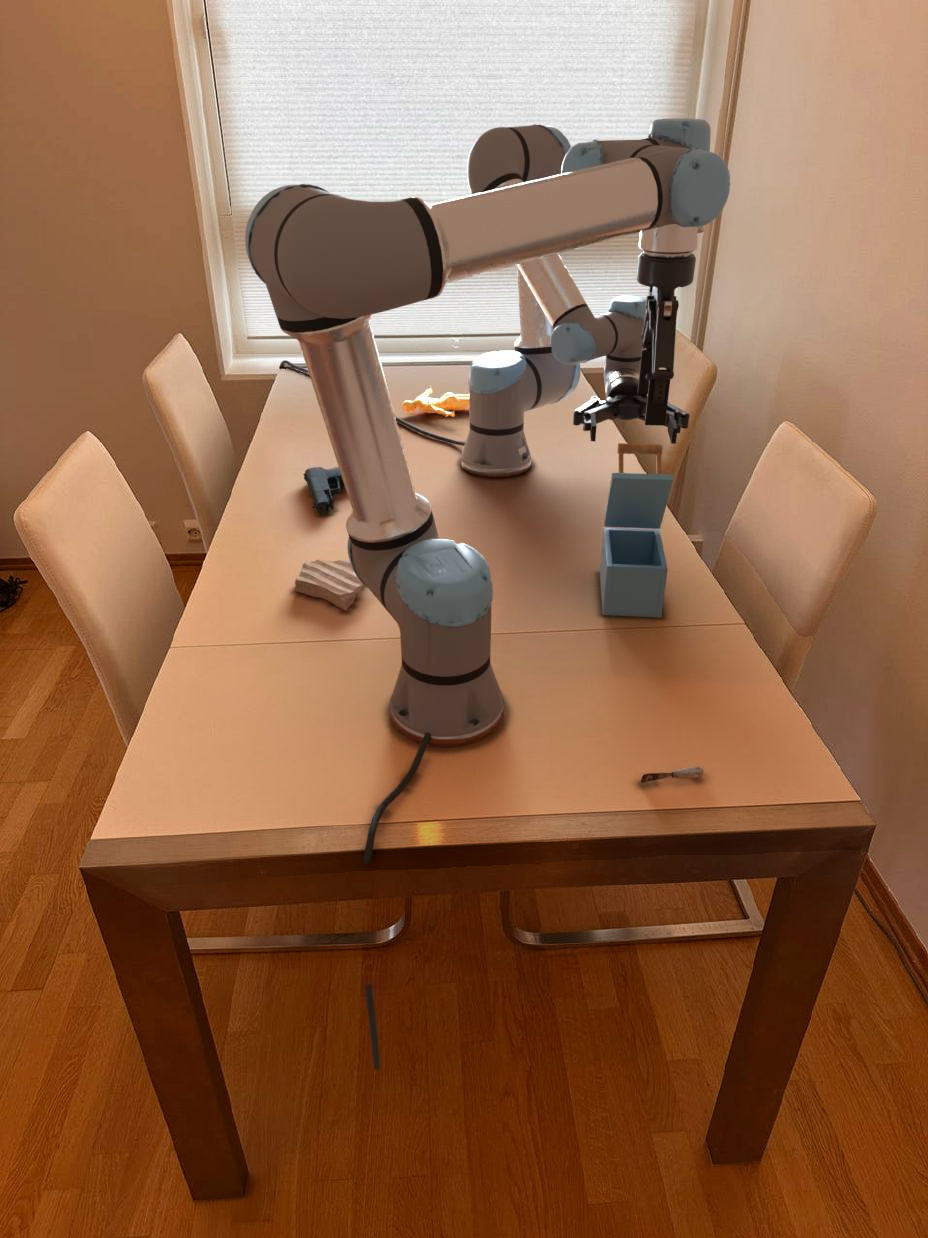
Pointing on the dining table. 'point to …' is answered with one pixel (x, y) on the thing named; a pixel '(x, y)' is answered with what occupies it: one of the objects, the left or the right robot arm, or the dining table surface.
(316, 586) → the stone
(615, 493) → the lid
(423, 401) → the human figure
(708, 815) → the dining table surface
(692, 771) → the putty knife
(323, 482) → the handgun
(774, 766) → the dining table surface
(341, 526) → the dining table surface
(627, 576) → the chest
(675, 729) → the dining table surface
